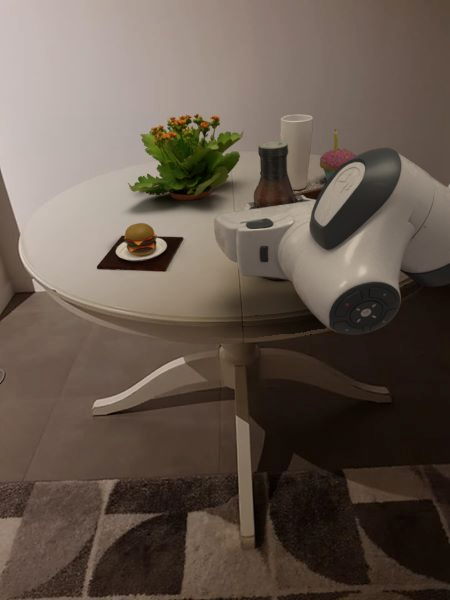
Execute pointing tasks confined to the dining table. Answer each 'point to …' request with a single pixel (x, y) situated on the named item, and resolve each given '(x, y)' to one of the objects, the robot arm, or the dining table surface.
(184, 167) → the potted flower
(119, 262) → the hamburger
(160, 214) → the dining table surface
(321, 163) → the cupcake
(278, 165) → the sauce bottle
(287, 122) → the drinking glass
